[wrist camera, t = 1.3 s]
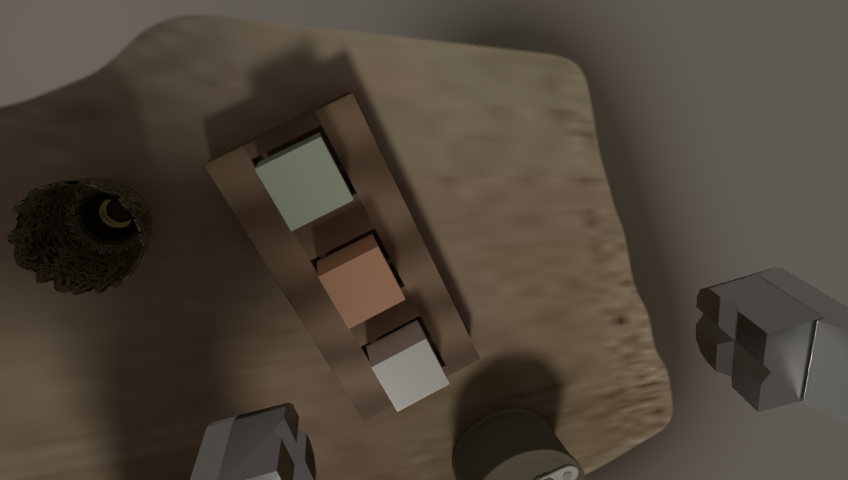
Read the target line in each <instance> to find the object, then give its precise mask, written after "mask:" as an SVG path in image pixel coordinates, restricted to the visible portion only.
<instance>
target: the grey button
mask: <svg viewBox="0 0 848 480" xmlns="http://www.w3.org/2000/svg"><path fill="white" fill-rule="evenodd" d="M366 347H367V352H368V356H369V360H370V365H371V368H372V370H373V371H374V373H375V375H376V377H377V378H378V380H379V382H380V383H381V385H382V387H383V388H384V390H385V392H386V394H387V395H388V397H389V399H390V400H391V402H392V404H393V405H394V407H395V409H396V411H397V412H398V411H400V410H402V409H404V408H406V407H407V406H409V405H411V404H413V403H415V402H417V401H419V400H420V399H422V398H424V397H426V396H428V395H430V394H432V393H434V392H435V391H437V390H439V389H441V388H443V387H445V386H447V385H448V384H449V382H448V379H447V377H446V375H445V373H444V371H443V369H442V367H441V365H440V363H439V361H438V359H437V357H436V355H435V353H434V351H433V349H432V347H431V345H430V344H429V342H428V340H427V338H426V336H425V334H424V332H423V330H422V328H421V326H420V324H419V322H418V321H417V320H416V321H414V322H412V323H410V324H408V325H406V326H404V327H402V328H400V329H399V330H397V331H395V332H393V333H391V334H389V335H387V336H385V337H383V338H381V339H380V340H378V341H376V342H374V343H372V344H370V345H368V346H366Z"/></svg>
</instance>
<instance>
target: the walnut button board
mask: <svg viewBox="0 0 848 480" xmlns="http://www.w3.org/2000/svg"><path fill="white" fill-rule="evenodd" d="M319 132H320V134H321V136H322V138H323V140H324V142H325V144H326V146H327V148H328V150H329V152H330V153H331V155H332V157H333V159H334V161H335V163H336V165H337V167H338V169H339V171H340V173H341V175H342V177H343V178H344V180H345V182H346V184H347V186H348V188H349V190H350V192H351V195H352V197H353V199H354V200H353V201H351V202H349V203H347V204H345V205H343V206H341V207H339V208H337V209H335V210H333V211H331V212H329V213H327V214H325V215H323V216H321V217H319V218H317V219H315V220H313V221H311V222H309V223H307V224H305V225H303V226H301V227H299V228H297V229H295V230H293V231H291V230H290V229H289V227H288V225H287V224H286V222H285V220H284V218H283V217H282V215H281V213H280V212H279V210H278V208H277V207H276V205H275V203H274V201H273V200H272V198H271V196H270V195H269V193H268V191H267V190H266V188H265V186H264V184H263V183H262V181H261V179H260V178H259V176H258V174H257V173H256V171H255V168H256V166H257V164H258V162H259V161H261V160H263V159H265V158H267V157H270V156H272V155H274V154H276V153H278V152H280V151H282V150H284V149H286V148H288V147H290V146H292V145H294V144H296V143H298V142H300V141H302V140H304V139H306V138H308V137H310V136H313V135H315V134H317V133H319ZM204 166H205V168H206V170H207V171H208V173H209V174H210V176H211V177H212V179H213V181H214V182H215V184H216V185H217V187H218V189H219V190H220V192H221V193H222V195H223V197H224V198H225V200H226V201H227V203H228V205H229V206H230V208H231V209H232V211H233V213H234V214H235V216H236V217H237V219H238V221H239V222H240V224H241V225H242V227H243V229H244V230H245V232H246V233H247V235H248V237H249V238H250V240H251V241H252V243H253V244H254V246H255V248H256V249H257V251H258V252H259V254H260V256H261V257H262V259H263V260H264V262H265V264H266V265H267V267H268V268H269V270H270V272H271V273H272V275H273V276H274V278H275V280H276V281H277V283H278V284H279V286H280V288H281V289H282V291H283V292H284V294H285V296H286V297H287V299H288V300H289V302H290V304H291V305H292V307H293V308H294V310H295V311H296V313H297V315H298V316H299V318H300V319H301V321H302V323H303V324H304V326H305V327H306V329H307V331H308V332H309V334H310V335H311V337H312V339H313V340H314V342H315V343H316V345H317V347H318V348H319V350H320V351H321V353H322V355H323V356H324V358H325V359H326V361H327V363H328V364H329V366H330V367H331V369H332V370H333V372H334V374H335V375H336V377H337V378H338V380H339V382H340V383H341V385H342V386H343V388H344V390H345V391H346V393H347V394H348V396H349V398H350V399H351V401H352V402H353V404H354V406H355V407H356V409H357V410H358V412H359V414H360V415H361V417H362V418H363V420H366V419H368V418H370V417H372V416H374V415H376V414H377V413H379V412H381V411H383V410H385V409H387V408H389V407H391V406H392V405H393V404H392V402H391V400H390V399H389V397H388V395H387V394H386V392H385V390H384V388H383V387H382V385H381V383H380V382H379V380H378V378H377V377H376V375H375V373H374V371H373V370H372V368H371V365H370V360H369V356H368V352H367V347H366V346H368V345H370V344H372V343H374V342H376V341H378V340H380V339H381V338H383V337H385V336H387V335H389V334H391V333H393V332H395V331H397V330H399V329H400V328H402V327H404V326H406V325H408V324H410V323H412V322H414V321H416V320H417V321H418V322H419V324H420V326H421V328H422V330H423V332H424V334H425V336H426V338H427V340H428V342H429V344H430V345H431V347H432V349H433V351H434V353H435V355H436V357H437V359H438V361H439V363H440V365H441V367H442V369H443V371H444V373H445V375H446V377H447V376H449V375H450V374H452V373H454V372H456V371H458V370H460V369H462V368H463V367H465V366H467V365H469V364H471V363H473V362H475V361H477V360H478V359H480V358H479V355H478V353H477V351H476V349H475V347H474V345H473V343H472V341H471V339H470V337H469V335H468V333H467V330H466V328H465V326H464V324H463V322H462V320H461V318H460V316H459V314H458V312H457V310H456V308H455V306H454V303H453V301H452V299H451V297H450V295H449V293H448V291H447V289H446V287H445V285H444V283H443V281H442V278H441V276H440V274H439V272H438V270H437V268H436V266H435V264H434V262H433V260H432V258H431V256H430V254H429V251H428V249H427V247H426V245H425V243H424V241H423V239H422V237H421V235H420V233H419V231H418V229H417V226H416V224H415V222H414V220H413V218H412V216H411V214H410V212H409V210H408V208H407V206H406V204H405V201H404V199H403V197H402V195H401V193H400V191H399V189H398V187H397V185H396V183H395V181H394V179H393V177H392V174H391V172H390V170H389V168H388V166H387V164H386V162H385V160H384V158H383V156H382V154H381V152H380V149H379V147H378V145H377V143H376V141H375V139H374V137H373V135H372V133H371V131H370V129H369V127H368V124H367V122H366V120H365V118H364V116H363V114H362V112H361V110H360V108H359V106H358V104H357V102H356V100H355V97H354V95H353V93H350V92H349V93H347V94H345V95H343V96H341V97H338V98H336V99H334V100H332V101H330V102H328V103H326V104H324V105H322V106H320V107H318V108H316V109H314V110H312V111H310V112H308V113H305V114H303V115H301V116H299V117H297V118H295V119H293V120H291V121H289V122H287V123H285V124H283V125H281V126H279V127H277V128H274V129H272V130H270V131H268V132H266V133H264V134H262V135H260V136H258V137H256V138H254V139H252V140H250V141H248V142H246V143H244V144H241V145H239V146H237V147H235V148H233V149H231V150H229V151H227V152H225V153H223V154H221V155H219V156H217V157H215V158H213V159H211V160H209V161H208V162H207V163H206V164H205V165H204ZM370 234H373V236H374V238H375V240H376V242H377V244H378V246H379V248H380V249H381V251H382V253H383V255H384V257H385V259H386V261H387V263H388V265H389V267H390V269H391V271H392V273H393V274H394V276H395V278H396V280H397V282H398V284H399V286H400V288H401V291H402V293H403V295H404V297H405V299H406V300H404V301H402V302H400V303H398V304H396V305H394V306H392V307H390V308H388V309H386V310H384V311H383V312H381V313H379V314H377V315H375V316H373V317H371V318H369V319H367V320H365V321H363V322H361V323H359V324H358V325H356V326H354V327H352V328H350V329H348V327H347V326H346V324H345V322H344V320H343V319H342V317H341V315H340V314H339V312H338V310H337V309H336V307H335V305H334V303H333V302H332V300H331V298H330V297H329V295H328V293H327V292H326V290H325V288H324V286H323V285H322V283H321V281H320V280H319V278H318V271H317V261H319V260H321V259H323V258H325V257H326V256H328V255H330V254H332V253H334V252H336V251H338V250H340V249H342V248H344V247H346V246H348V245H350V244H352V243H354V242H356V241H358V240H360V239H362V238H364V237H366V236H368V235H370Z"/></svg>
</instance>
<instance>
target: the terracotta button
mask: <svg viewBox="0 0 848 480" xmlns="http://www.w3.org/2000/svg"><path fill="white" fill-rule="evenodd" d="M317 271H318V278H319V280H320V281H321V283H322V285H323V286H324V288H325V290H326V292H327V293H328V295H329V297H330V298H331V300H332V302H333V303H334V305H335V307H336V309H337V310H338V312H339V314H340V315H341V317H342V319H343V320H344V322H345V324H346V326H347V327H348V329H350V328H352V327H354V326H356V325H358V324H359V323H361V322H363V321H365V320H367V319H369V318H371V317H373V316H375V315H377V314H379V313H381V312H383V311H384V310H386V309H388V308H390V307H392V306H394V305H396V304H398V303H400V302H402V301H404V300H406V299H405V297H404V295H403V293H402V291H401V288H400V286H399V284H398V282H397V280H396V278H395V276H394V274H393V273H392V271H391V269H390V267H389V265H388V263H387V261H386V259H385V257H384V255H383V253H382V251H381V249H380V248H379V246H378V244H377V242H376V240H375V238H374V236H373V234H370V235H368V236H366V237H364V238H362V239H360V240H358V241H356V242H354V243H352V244H350V245H348V246H346V247H344V248H342V249H340V250H338V251H336V252H334V253H332V254H330V255H328V256H326V257H325V258H323V259H321V260H319V261H317Z"/></svg>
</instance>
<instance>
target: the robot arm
mask: <svg viewBox="0 0 848 480" xmlns="http://www.w3.org/2000/svg"><path fill="white" fill-rule="evenodd" d="M696 307H697V308H698V309H699V310H700V311H701V312H702V313H703V315H702V317H701V318H700V319H699V321H698V322H697V324H696V340H697V343H698V346H699V349H700V352H701V354H702V355H703V357H704V358H705V360H706V361H707V362H708V363H709V364H710V365H711V366H712V367H713V368H714V369H715V370H716V371H718V372H721V373H724V374H726V375H729V376H731V377H732V387H733V388H734V389H735V390H736V391H737V392H738V393H739V394H740V395H741V396H742V397H743V398H744V399H745V400H746V401H747V402H748V403H749V404H750V405H751V406H752V407H753V408H755V410H757V411H758V412H759V411H763V410H767V409H771V408H775V407H779V406H783V405H786V404H791V403H794V402H798V401H802V400H803V403H805V404H807V405H809V406H811V407H814V408H816V409H818V410H820V411H822V412H825V413H827V414H829V415H831V416H833V417H836V418H838V419H840V420H842V421H844V422H846V423H848V307H846V306H845V305H843V304H841V303H840V302H838V301H836V300H835V299H833V298H831V297H829V296H828V295H826V294H825V293H823V292H821V291H820V290H818V289H816V288H814V287H813V286H811V285H810V284H808V283H806V282H804V281H803V280H801V279H799V278H798V277H796V276H794V275H792V274H791V273H789V272H788V271H786V270H784V269H781V268H776V267H774V268H770V269H767V270H763V271H760V272H757V273H753V274H750V275H749V276H745V277H742V278H738V279H734V280H731V281H728V282H724V283H720V284H717V285H713V286H710V287H706V288H703V289H700V291H699V293H698V295H697V305H696ZM298 423H299V416H298V414H297V412H296V410H295V408H294V406H293V404H291V403H285V404H281V405H277V406H273V407H269V408H265V409H261V410H257V411H253V412H249V413H245V414H241V415H238V416H235V417H231V418H227V419H223V420H219V421H215V422H212V423H211V424H210V425H209V426H208V427H207V428H206V430H205V433H204V437H203V440H202V443H201V446H200V449H199V452H198V455H197V459H196V462H195V465H194V468H193V471H192V474H191V477H190V480H316V467H315V459H314V453H313V449H312V446H311V442H310V440H309V438H308V435H307V433H305V432H303V431H301V430H299V429H298Z"/></svg>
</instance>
